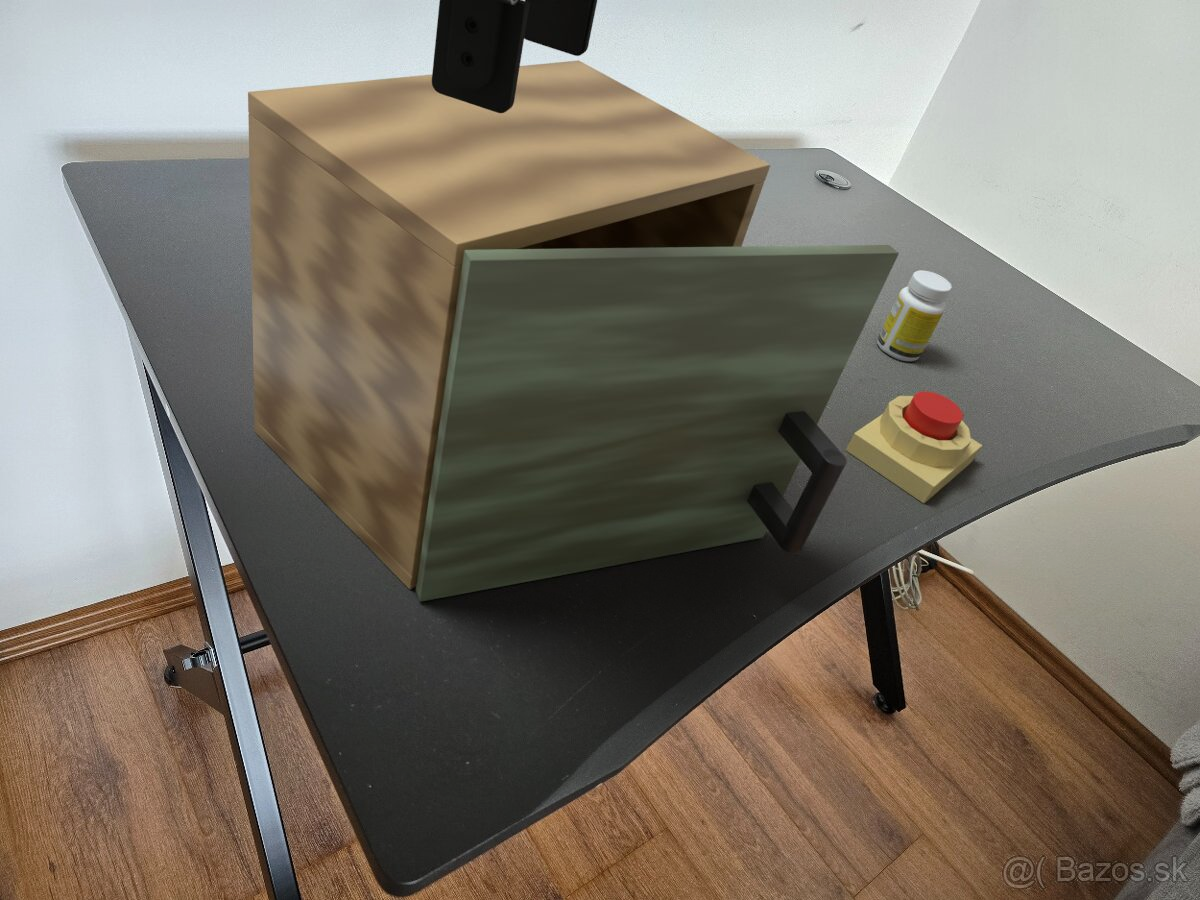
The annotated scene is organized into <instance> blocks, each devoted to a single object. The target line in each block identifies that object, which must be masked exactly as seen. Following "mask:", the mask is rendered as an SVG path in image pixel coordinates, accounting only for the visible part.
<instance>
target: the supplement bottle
mask: <svg viewBox="0 0 1200 900" xmlns="http://www.w3.org/2000/svg"><path fill="white" fill-rule="evenodd" d="M952 288H953V287H952V283H951V282H950V281H949V280H948V279H946V278H945V277H944V276H941V275H940V274H938V273H935V272H932V271H929V270H924V269H923V270H921V269H920V270H916V271H914V272H913V274H912V275H911V277H910V279H909V281H908V283H907V286H906V287H903V288H902V289H901V290H900V292H899V293H898V295H897V297H896V299H895V302H894V304H893V305H892V308H891V310H890V312H889V314H888V316H887V318H886V320H885V322H884V324H883V326H882V328H881V330H880V332H879V335H878V336H877V338H876V339H877V340H876V343H877V346H878V347H879V349H880V350H881V351H882V352H884V353H885V354H886V355H888V356H889V357H891V358H893V359H896V360H898V361H902V362H915V361H917V360H919V359H920V358H921V357H922V354H923V353H924V351H925V348H926V346H927V345H928V343H929V341H930V340H931V338H932V335H933V333H934V332H935V329H936V328H937V326H938V324H939V322H940V320H941V318H942V316H943V314H944V312H945V310H946V303H945V302H946V301H947V299H948V298H949V295H950V293H951V291H952Z"/></svg>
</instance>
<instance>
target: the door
mask: <svg viewBox="0 0 1200 900" xmlns="http://www.w3.org/2000/svg"><path fill="white" fill-rule="evenodd" d="M899 254H900V253H899V252H898V251H897V250H896V249H895V248H894V247H892V246H891V244H850V245H849V244H847V245H846V244H845V245H843V244H842V245H839V244H838V245H765V246H764V245H762V246H760V245H758V246H753V245H752V246H751V245H749V246H741V247H664V248H579V249H494V250H465V251H464V257H463V264H462V271H461V278H460V285H459V292H458V299H457V306H456V313H455V320H454V327H453V334H452V341H451V348H450V355H449V362H448V369H447V376H446V383H445V390H444V397H443V403H442V410H441V417H440V424H439V431H438V438H437V445H436V452H435V459H434V466H433V473H432V480H431V487H430V494H429V501H428V508H427V515H426V522H425V529H424V536H423V543H422V550H421V557H420V564H419V571H418V578H417V585H416V587H415V592H416V595H417V598H418V600H419V602H421V603H422V602H426V601H427V602H428V601H433V600H437V599H442V598H448V597H453V596H459V595H464V594H469V593H474V592H481V591H486V590H490V589H491V590H492V589H496V588H500V587H501V588H502V587H506V586H512V585H517V584H522V583H527V582H533V581H538V580H544V579H550V578H554V577H555V578H556V577H560V576H565V575H570V574H575V573H581V572H586V571H592V570H597V569H602V568H607V567H613V566H619V565H623V564H629V563H634V562H640V561H645V560H646V561H647V560H651V559H656V558H661V557H666V556H673V555H677V554H683V553H689V552H693V551H698V550H703V549H708V548H714V547H719V546H725V545H730V544H736V543H741V542H747V541H752V540H757V539H763V538H765V537H764V536H765V535H766V533H767V531H768V532H769V533H770V535H771V536H772V538H773V539H774V540H775V542H776V543H777V544H778V545H779V547H780V548H781V549H782V550H783V551H784V552H786V553H788V554H793V555H797V554H799V553H800V552H801V551H802V549H803V547H804V546H805V544H806V543H807V540H808V538H809V536H810V534H811V533H812V532H811V531H812V530H813V528H814V527H815V525H816V523H817V520H818V518H819V517H820V515H821V513H822V511H823V509H824V508H825V506H826V503H827V501H828V500H829V497H830V496H831V494H832V492H833V490H834V489H835V486H836V484H837V482H838V481H839V478H840V477H841V475H842V472H843V471H844V469H845V468H846V465H847V462H848V461H847V457H846V456H845V455H844V454H843V453H842V452H841V450H840V449H839V448H838V447H837V446H836V445H835V444H834V442H832V440H831V439H830V437H828V435H827V434H826V433H825V432H824V431H823V430H822V429H821V428H820V426H819V425H818V424H819V422H820V420H821V418H822V416H823V413H824V411H825V409H826V407H827V405H828V403H829V401H830V399H831V397H832V395H833V392H834V390H835V388H836V387H837V384H838V382H839V380H840V378H841V376H842V374H843V372H844V369H845V367H846V365H847V363H848V361H849V359H850V357H851V355H852V353H853V350H854V349H855V346H856V345H857V342H858V340H859V338H860V336H861V334H862V332H863V329H864V328H865V325H866V323H867V322H868V319H869V318H870V315H871V313H872V311H873V309H874V307H875V305H876V303H877V300H878V298H879V296H880V294H881V292H882V290H883V288H884V286H885V284H886V282H887V279H888V277H889V275H890V274H891V271H892V269H893V267H894V265H895V263H896V261H897V259H898V257H899ZM800 462H803V463H804V465H805V466H806V467H807V469H808V470H809V471H810V472H811V474H810V476H809V478H808V480H807V482H806V484H805V486H804V488H803V491H802V493H801V495H800V497H799V498H798V501H797V502H796V504H795V507H794V508H793V507H792V506H791V504H790V503H789V502H788V500H787V499H786V498H785V496H784V495H785V493H786V491H787V489H788V487H789V484H790V482H791V480H792V479H793V476H794V474H795V472H796V470H797V467H798V466H799V464H800Z"/></svg>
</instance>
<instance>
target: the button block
mask: <svg viewBox="0 0 1200 900" xmlns="http://www.w3.org/2000/svg"><path fill="white" fill-rule="evenodd" d="M913 397H914V395H898V396H897V397H895V398H893V399H892V400H890V401H889V402H888V404H887V405H886V407H885V410H884V411H883V413H881V414H880V415H879V416H878V417H875V418H874V419H873V420H872V421H870V422H868V423H867V424H865V425H864V426H862V427H861V428H859V429H858V430H857V431H855V432H854V433H853V435H852V437H851V438H850V440H849V443H848V444H847V446H846V447H845V451H846V452H847V453H848V454H850V455H852V456H853V457H854V458H856V459H857V460H859V461H860V462H862V463H863V464H865V465H866V466H868V467H869V468H870V469H872V470H874V471H875V472H877V473H878V474H880V475H881V476H882V477H884V478H885V479H887V480H888V481H890V482H891V483H893V484H894V485H895V486H897V487H899V488H900V489H901V490H903V491H905V493H907V494H909V495H910V496H911V497H913V498H915V499H916V500H918V501H919V502H921V503H922V504H925V503H926V502H928V501H929V500H931V498H932V497H934V496H935V495H936V494H938V493H939V491H941V490H942V489H943V488H944V487H945V486H946V485H947V484H949V483H950V482H951V481H952V480H953V479H955V477H956V476H958V475H959V474H960V473H961V472H962V471H964V470H965V469H966V468H967V467H969V466H970V464H971V463H973V461H974V460H975V458H976V457H977V455H978V454H979V452H980V450H981V449H982V447H983V444H981V443H979V441H976V440H975V439H973V438H972V437H971V431H970V428H969V427H968V425H967V424H966V423H965V422H964V421H963V420H962V421H961V423H960V424H959V426H958V428H957V429H956V431H955V432H954V434H953V436H952V437H951V438H950V439H949V440H936V439H933V438H930V437H926V436H923V435H922V434H920V433H919V432H917V431H916V430H914V429H913V428H911V427H910V426H909V425H908V423H907V422H906V421H905V420H904V413H905V411H906V409H907V408H908V406H909V404H910V402H911V400H912V398H913Z"/></svg>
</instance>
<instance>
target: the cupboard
mask: <svg viewBox="0 0 1200 900" xmlns="http://www.w3.org/2000/svg"><path fill="white" fill-rule="evenodd" d="M247 112H248V114H247V115H248V117H247V118H248V120H247V121H248V161H249V167H248V168H249V169H248V170H249V213H250V218H249V219H250V261H251V262H250V264H251V266H250V267H251V268H250V269H251V313H252V314H251V315H252V316H251V317H252V318H251V319H252V355H253V356H252V359H253V361H252V363H253V365H252V366H253V409H254V410H253V413H254V416H253V417H254V421H253V422H254V433H255V434H256V435H257V436H258V437H259V438H260V439H261V440H262V442H264V443H265V444H266V445H267V446H268V447H269V448H270V449H271V450H272V451H273V452H274V453H275V455H277V456H278V457H279V458H280V459H281V460H282V462H284V463H285V464H286V465H287V466H288V467H289V469H291V471H293V473H295V475H297V477H298V478H299V479H300V480H302V482H303V483H304V484H305V485H306V486H307V487H308V488H309V489H310V490H311V491H312V492H313V493H314V494H315V495H316V496H317V497H318V498H319V499H320V500H321V501H322V502H323V503H324V504H325V505H326V507H328V508H329V509H330V511H332V512H333V513H334V514H335V516H337V517H338V518H339V520H341V522H342V523H343V524H345V525H346V526H347V528H349V529H350V531H352V533H353V534H354V535H355V536H356V537H357V538H359V540H360V541H361V542H362V543H363V544H364V545H365V546H366V547H367V548H368V549H369V550H370V551H371V552H372V553H373V554H374V555H375V556H376V557H377V558H378V559H379V560H380V561H381V562H382V563H383V565H385V566H386V567H387V569H388V570H390V571H391V572H392V573H393V575H394V576H396V577H397V578H398V580H400V582H401V583H403V584H404V586H405V587H406V588H407V589H408V590H412V589H414V588H416V585H417V578H418V571H419V564H420V557H421V550H422V543H423V536H424V529H425V522H426V515H427V508H428V501H429V494H430V487H431V480H432V473H433V466H434V459H435V452H436V445H437V438H438V431H439V424H440V417H441V410H442V403H443V397H444V390H445V383H446V376H447V369H448V362H449V355H450V348H451V341H452V334H453V327H454V320H455V313H456V306H457V299H458V292H459V285H460V278H461V271H462V264H463V257H464V251H465V250H494V249H579V248H664V247H743V243H744V240H745V239H746V238H745V237H746V236H747V232H748V229H749V226H750V224H751V221H752V218H753V215H754V212H755V210H756V207H757V204H758V202H759V199H760V197H761V193H762V190H763V187H764V185H765V182H766V179H767V176H768V173H769V170H770V168H771V164H770V163H769V162H766V161H765V160H763V159H761V158H759V157H757V156H756V155H754V154H752V153H750V152H748V151H746V150H744V149H743V148H741V147H739V146H737V145H735V144H734V143H732V142H730V141H728V140H727V139H724V138H722V137H720V136H719V135H718V134H715V133H713V132H712V131H709V130H708V129H707V128H704V127H702V126H700V125H698V124H697V123H695V122H693V121H691V120H690V119H687V118H686V117H684V116H682V115H680V114H678V113H677V112H675V111H672V110H671V109H669V108H668V107H665V106H663V105H662V104H660V103H658V102H657V101H654V100H653V99H651V98H649V97H647V96H646V95H643V94H641V93H640V92H639V91H636V90H634V89H633V88H630V87H629V86H627V85H625V84H623V83H621V82H619V81H618V80H616V79H614V78H612V77H611V76H609V75H606V74H605V73H603V72H601V71H600V70H598V69H595V68H594V67H592V66H590V65H588V64H587V63H585V62H582V61H581V60H569V61H559V62H549V63H538V64H526V65H520V68H519V74H518V80H517V86H516V93H515V99H514V104H513V106H512V107H511V108H510V109H509V110H508V111H506V112H505V113H497V112H494V111H491V110H488V109H485V108H482V107H479V106H476V105H473V104H470V103H467V102H464V101H461V100H458V99H455V98H452V97H449V96H446V95H443V94H440V93H438V92H437V91H435V89H434V88H433V86H432V73H431V74H422V75H421V74H420V75H410V76H402V77H390V78H379V79H369V80H358V81H349V82H348V81H347V82H338V83H326V84H316V85H306V86H305V85H304V86H295V87H285V88H274V89H265V90H263V89H262V90H256V91H255V90H254V91H252V90H251V91H248V92H247Z"/></svg>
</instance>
